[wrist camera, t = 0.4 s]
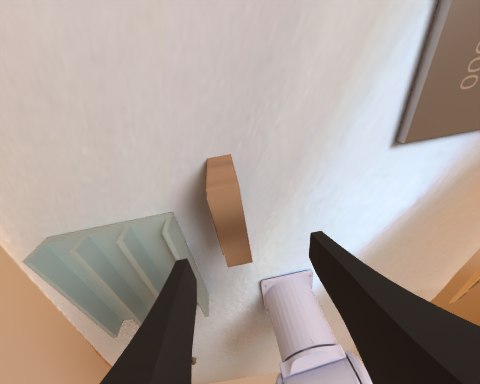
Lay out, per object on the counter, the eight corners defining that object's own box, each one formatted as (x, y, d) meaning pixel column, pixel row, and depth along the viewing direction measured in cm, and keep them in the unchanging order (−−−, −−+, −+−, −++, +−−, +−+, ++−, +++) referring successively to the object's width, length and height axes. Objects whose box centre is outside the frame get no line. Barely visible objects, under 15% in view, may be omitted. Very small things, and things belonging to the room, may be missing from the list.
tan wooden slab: (242, 219, 22) (252, 262, 17) (222, 223, 22) (225, 267, 17) (230, 154, 17) (238, 184, 12) (205, 158, 17) (202, 192, 12)
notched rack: (208, 294, 28) (208, 316, 26) (122, 314, 28) (113, 337, 25) (172, 211, 20) (167, 231, 17) (47, 237, 19) (22, 261, 17)
